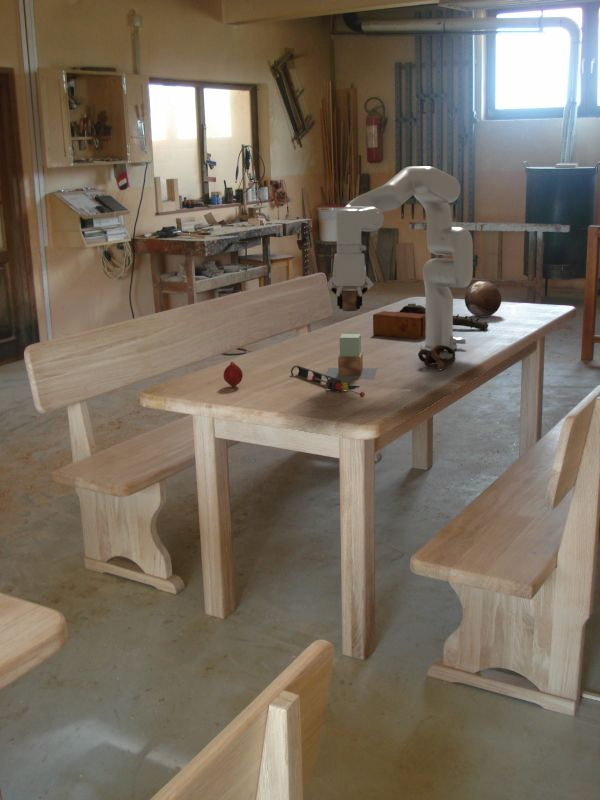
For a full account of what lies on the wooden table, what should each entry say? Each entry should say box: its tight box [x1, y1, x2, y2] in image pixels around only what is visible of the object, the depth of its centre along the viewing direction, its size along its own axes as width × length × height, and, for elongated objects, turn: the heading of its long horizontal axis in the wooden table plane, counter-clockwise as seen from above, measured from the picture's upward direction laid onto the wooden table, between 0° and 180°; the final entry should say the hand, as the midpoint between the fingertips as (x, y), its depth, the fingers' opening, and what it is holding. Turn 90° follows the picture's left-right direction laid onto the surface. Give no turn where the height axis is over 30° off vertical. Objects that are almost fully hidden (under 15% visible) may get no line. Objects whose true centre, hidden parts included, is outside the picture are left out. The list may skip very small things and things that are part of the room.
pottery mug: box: [417, 345, 456, 370], centre depth 304 cm, size 12×10×8 cm
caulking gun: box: [290, 365, 365, 398], centre depth 285 cm, size 4×37×10 cm
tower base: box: [337, 351, 364, 376], centre depth 298 cm, size 7×7×6 cm
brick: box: [372, 310, 425, 340], centre depth 357 cm, size 20×8×8 cm, turn 56°
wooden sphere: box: [464, 280, 503, 318], centre depth 388 cm, size 15×15×15 cm
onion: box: [223, 361, 244, 388], centre depth 286 cm, size 6×6×8 cm
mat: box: [322, 367, 379, 380], centre depth 299 cm, size 16×14×1 cm
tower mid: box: [339, 333, 362, 357], centre depth 297 cm, size 6×6×6 cm
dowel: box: [341, 289, 359, 312], centre depth 293 cm, size 5×5×6 cm
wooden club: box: [398, 303, 489, 331], centre depth 367 cm, size 39×5×10 cm, turn 72°
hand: (349, 307), depth 294 cm, fingers closed on dowel, 5 cm apart
